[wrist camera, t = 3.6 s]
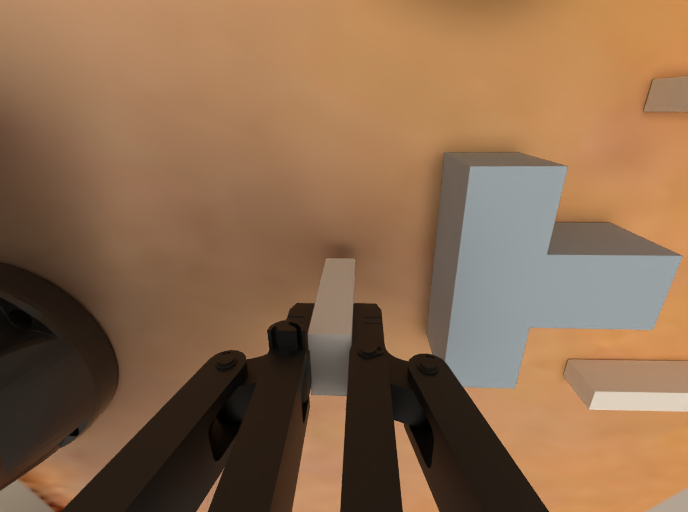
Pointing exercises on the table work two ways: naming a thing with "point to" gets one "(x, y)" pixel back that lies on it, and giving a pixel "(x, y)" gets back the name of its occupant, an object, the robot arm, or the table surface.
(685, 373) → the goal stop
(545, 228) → the t block
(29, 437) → the robot arm
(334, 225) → the table surface
